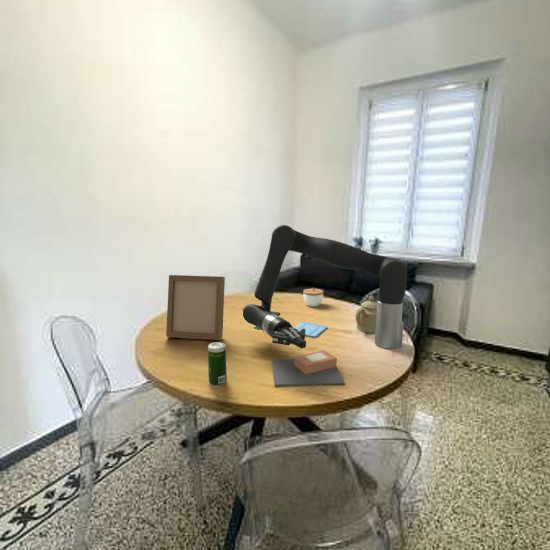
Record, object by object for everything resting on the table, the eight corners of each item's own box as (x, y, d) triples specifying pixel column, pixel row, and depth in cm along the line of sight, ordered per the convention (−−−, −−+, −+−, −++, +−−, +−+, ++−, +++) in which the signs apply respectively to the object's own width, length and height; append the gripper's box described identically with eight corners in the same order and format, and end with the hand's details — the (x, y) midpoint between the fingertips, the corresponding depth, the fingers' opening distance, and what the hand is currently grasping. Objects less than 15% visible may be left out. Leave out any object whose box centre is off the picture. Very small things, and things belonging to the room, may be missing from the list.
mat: (332, 359, 120) (332, 357, 120) (344, 384, 103) (344, 382, 103) (271, 360, 118) (271, 359, 118) (274, 386, 102) (274, 384, 102)
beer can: (230, 382, 104) (229, 345, 102) (216, 389, 100) (214, 350, 98) (219, 376, 108) (218, 340, 105) (205, 382, 104) (203, 345, 101)
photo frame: (219, 342, 134) (217, 279, 129) (166, 339, 137) (162, 277, 132) (229, 329, 148) (228, 272, 143) (181, 326, 151) (178, 270, 146)
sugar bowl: (381, 338, 139) (384, 302, 136) (354, 334, 142) (355, 299, 139) (383, 326, 152) (385, 293, 149) (357, 323, 156) (359, 291, 153)
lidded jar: (312, 301, 191) (313, 284, 189) (327, 305, 183) (328, 288, 181) (298, 304, 184) (299, 287, 182) (313, 309, 176) (313, 291, 174)
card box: (294, 365, 114) (324, 358, 119) (305, 374, 108) (336, 366, 113) (294, 356, 113) (324, 349, 118) (305, 365, 107) (336, 357, 112)
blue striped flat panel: (314, 339, 139) (314, 336, 138) (288, 333, 144) (288, 330, 144) (327, 329, 150) (327, 326, 150) (302, 324, 156) (302, 321, 156)
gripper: (259, 320, 115) (285, 337, 101) (293, 314, 122) (322, 329, 107) (259, 341, 117) (285, 361, 102) (292, 334, 123) (321, 352, 108)
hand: (303, 345), depth 104 cm, fingers closed
